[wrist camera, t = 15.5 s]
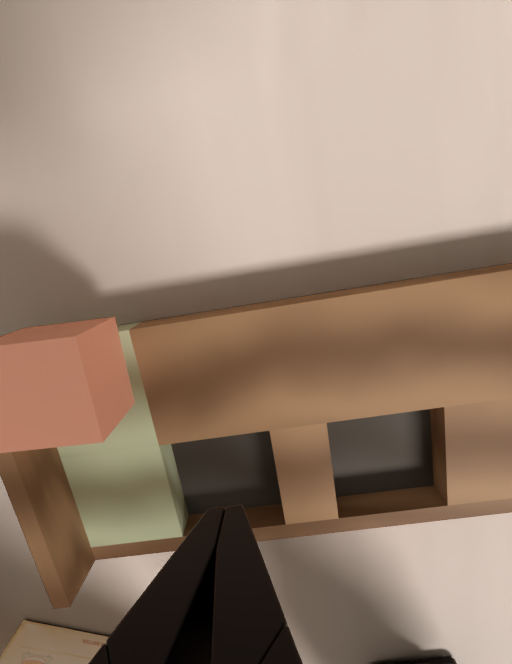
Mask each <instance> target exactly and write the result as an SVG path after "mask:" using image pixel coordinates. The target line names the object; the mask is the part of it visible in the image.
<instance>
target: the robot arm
mask: <svg viewBox="0 0 512 664" xmlns="http://www.w3.org/2000/svg"><path fill="white" fill-rule="evenodd" d="M106 643H107V645H106V644H103V645H102V646H101V648H100V649H99V650H98V652H97V653H96V654H95V655H94V657H93V658H92V659H91V661H90V662H89V663H88V664H303V663H302V660H301V658H300V656H299V653H298V651H297V648H296V646H295V643H294V640H293V638H292V635H291V632H290V629H289V627H288V626H287V622H286V619H285V617H284V614H283V611H282V609H281V606H280V603H279V600H278V598H277V595H276V592H275V590H274V587H273V584H272V582H271V579H270V576H269V574H268V571H267V568H266V565H265V563H264V560H263V557H262V555H261V552H260V549H259V547H258V544H257V541H256V539H255V536H254V533H253V531H252V528H251V525H250V522H249V520H248V517H247V514H246V512H245V509H244V507H243V505H241V504H238V505H230V506H227V507H226V508H225V507H223V506H222V507H214V508H209V509H208V510H207V511H206V512H205V513H204V515H203V516H202V517H201V519H200V520H199V521H198V523H197V524H196V525H195V526H194V528H193V529H192V530H191V532H190V533H189V534H188V535H187V537H186V538H185V539H184V541H183V542H182V543H181V545H180V546H179V547H178V548H177V550H176V551H175V552H174V554H173V555H172V556H171V557H170V559H169V560H168V561H167V563H166V564H165V565H164V567H163V568H162V569H161V570H160V572H159V573H158V574H157V576H156V577H155V578H154V579H153V581H152V582H151V583H150V585H149V586H148V587H147V588H146V590H145V591H144V592H143V594H142V595H141V596H140V598H139V599H138V600H137V601H136V603H135V604H134V605H133V607H132V608H131V609H130V610H129V612H128V613H127V614H126V616H125V617H124V618H123V620H122V621H121V622H120V623H119V625H118V626H117V627H116V629H115V630H114V631H113V632H112V634H111V635H110V636H109V638H108V639H107V641H106ZM379 664H457V663H456V661H455V659H454V658H451V657H446V658H435V659H424V660H413V661H402V662H390V663H379Z"/></svg>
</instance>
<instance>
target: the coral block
mask: <svg viewBox="0 0 512 664" xmlns="http://www.w3.org/2000/svg"><path fill="white" fill-rule="evenodd" d="M134 404H135V401H134V396H133V392H132V388H131V384H130V379H129V375H128V371H127V366H126V362H125V358H124V354H123V349H122V345H121V341H120V336H119V332H118V328H117V324H116V319H115V317H108V318H100V319H92V320H84V321H76V322H68V323H60V324H52V325H44V326H36V327H28V328H23V329H20V330H17V331H14V332H12V333H9V334H6V335H3V336H0V453H7V452H16V451H26V450H36V449H45V448H55V447H64V446H74V445H83V444H93V443H102V442H104V441H105V440H106V438H107V437H108V436H109V435H110V433H111V432H112V431H113V430H114V428H115V427H116V426H117V425H118V424H119V422H120V421H121V420H122V419H123V417H124V416H125V415H126V414H127V412H128V411H129V410H130V409H131V407H132V406H133V405H134Z"/></svg>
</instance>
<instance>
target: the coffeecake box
mask: <svg viewBox="0 0 512 664" xmlns="http://www.w3.org/2000/svg"><path fill="white" fill-rule="evenodd" d="M108 638H109V637H107V636H102V635H96V634H91V633H87V632H82V631H77V630H72V629H67V628H62V627H57V626H51V625H46V624H41V623H37V622H32V621H27V620H23V622H22V624H21V625H20V627H19V628H18V630H17V631H16V633H15V634H14V636H13V637H12V639H11V640H10V642H9V643H8V645H7V646H6V648H5V650H4V651H3V653H2V654H1V656H0V664H88V663H89V662H90V661H91V659H92V658H93V657H94V655H95V654H96V653H97V652H98V650H99V649H100V648H101V646H102V645H103V644H106V645H107V643H106V641H107V639H108Z"/></svg>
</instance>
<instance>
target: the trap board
mask: <svg viewBox="0 0 512 664" xmlns="http://www.w3.org/2000/svg"><path fill="white" fill-rule="evenodd" d="M117 328H118V332H119V336H120V341H121V345H122V349H123V354H124V358H125V362H126V366H127V371H128V375H129V379H130V384H131V388H132V392H133V396H134V401H135V404H134V405H133V406H132V407H131V409H130V410H129V411H128V412H127V414H126V415H125V416H124V417H123V419H122V420H121V421H120V422H119V424H118V425H117V426H116V427H115V428H114V430H113V431H112V432H111V433H110V435H109V436H108V437H107V438H106V440H105V441H104V442H102V443H93V444H83V445H74V446H64V447H55V448H45V449H36V450H26V451H16V452H7V453H0V475H1V478H2V480H3V483H4V485H5V488H6V490H7V493H8V496H9V498H10V501H11V503H12V506H13V508H14V511H15V513H16V516H17V518H18V521H19V523H20V526H21V528H22V531H23V534H24V536H25V539H26V541H27V544H28V546H29V549H30V551H31V554H32V556H33V559H34V561H35V564H36V566H37V569H38V572H39V574H40V577H41V579H42V582H43V584H44V587H45V589H46V592H47V594H48V597H49V599H50V602H51V604H52V607H53V609H56V608H66V607H70V606H71V605H72V603H73V601H74V599H75V597H76V595H77V593H78V591H79V590H80V588H81V586H82V584H83V582H84V580H85V578H86V576H87V575H88V573H89V571H90V569H91V567H92V565H93V563H94V561H95V560H99V559H108V558H117V557H125V556H134V555H143V554H152V553H160V552H169V551H176V550H177V548H178V547H179V546H180V545H181V543H182V542H183V541H184V539H185V538H186V537H187V535H188V534H189V533H190V532H191V530H192V529H193V528H194V526H195V525H196V524H197V523H198V521H199V520H200V519H201V517H202V516H203V515H204V513H205V512H206V511H207V510H208V509H209V508H214V507H222V506H223V507H225V508H226V507H227V506H230V505H238V504H241V505H243V507H244V509H245V512H246V514H247V517H248V520H249V522H250V525H251V528H252V531H253V533H254V536H255V539H256V541H265V540H274V539H282V538H291V537H300V536H309V535H317V534H326V533H335V532H344V531H352V530H361V529H370V528H379V527H387V526H396V525H405V524H413V523H422V522H431V521H440V520H448V519H457V518H466V517H475V516H483V515H492V514H501V513H510V512H512V263H510V264H503V265H497V266H491V267H484V268H478V269H472V270H466V271H459V272H453V273H447V274H440V275H434V276H428V277H421V278H415V279H409V280H402V281H396V282H390V283H383V284H377V285H371V286H364V287H358V288H352V289H345V290H339V291H333V292H327V293H320V294H314V295H308V296H301V297H295V298H289V299H282V300H276V301H270V302H263V303H257V304H251V305H244V306H238V307H232V308H225V309H219V310H213V311H206V312H200V313H194V314H188V315H181V316H175V317H169V318H162V319H156V320H150V321H143V322H137V323H131V324H124V325H118V326H117Z"/></svg>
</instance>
